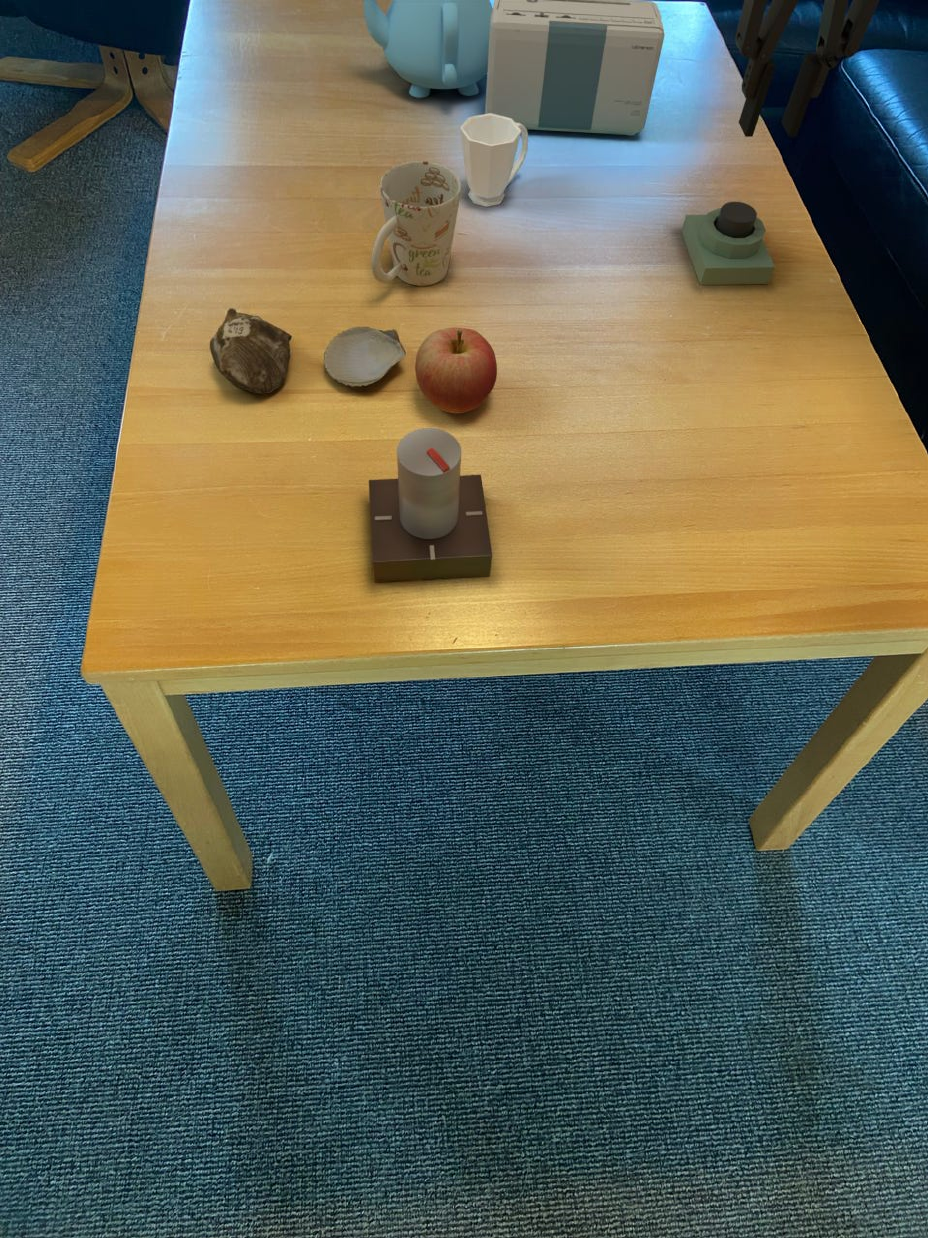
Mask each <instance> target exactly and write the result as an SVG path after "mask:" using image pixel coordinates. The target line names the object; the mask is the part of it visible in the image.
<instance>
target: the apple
mask: <svg viewBox="0 0 928 1238" xmlns="http://www.w3.org/2000/svg"><path fill="white" fill-rule="evenodd" d="M414 371H415V377H416V382H417V384H418V387H419V390H420V391H421V393H422V395H423V396H424V398H426V399H427V400H428V402H429V403H431V405H433V406H434V407H435V408H437V409H438V410H440V411H443V412H447V413H451V414H463V413H468V412H470V411H474V410H475V409H477V408H478V407H479V406H481V405H482V404H483V403H484V401H485V400H486V399H487V398H488V397H489V395H490V394H491V393H492V391H493V390H494V387H495V385H496V382H497V378H498V377H497V376H498V364H497V358H496V354H495V351H494V348H493V346H492V345H491V344H490V343H489V341H488V340H487V338H485V337H484V336H483V335H482V334H481V333H479V332H478V330H477V331H476V330H474V329H471V328H466V327H465V328H464V327H456V326H455V327H448V328H447V327H446V328H442V329H437V330H436V331H434V332H432V333H431V334H429V335H428V336H427V337H426V338H425V339H424V340H423V341H422V343H421V344H420V346H419V348H418V351H417V353H416V357H415V362H414Z"/></svg>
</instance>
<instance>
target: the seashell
mask: <svg viewBox="0 0 928 1238" xmlns="http://www.w3.org/2000/svg"><path fill="white" fill-rule="evenodd" d="M406 355H407V351H406V350H405V348H404V346H403V344H402V342H401V340H400V336H399V333H398V331H397V329H395V328H393V329H387V330H381V329H378V328H377V329H376V328H372V327H370V326H354V327H350V328H348V329H345V330H342V331H341V332H340V333H338V334H337V335H336V336H334V337H333V339H332V340H330V342H329V344H328V345H327V346H326V349H325V350H324V352H323V367H324V368H325V372H327V375H328V377H330V378H331V379H332V380H333V381H336V382H337V383H338V384H343V385H344V386H347V387H348V386H350V387H351V388H355V387H358V388H359V387H360V388H361V387H363V386H364V387H365V386H369V385H373V384H375V383H376V382H378V381H380V380H381V379H383V377H384V376H386V375H387V374H388V372H389V371H390V370H391V369H392V367H393V366H395V365H396V364H397V363H399V362H400V361H401V360H403V359H404V358H405V357H406Z"/></svg>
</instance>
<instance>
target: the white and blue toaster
mask: <svg viewBox="0 0 928 1238" xmlns="http://www.w3.org/2000/svg"><path fill="white" fill-rule="evenodd" d="M492 8H493V10H492V15H491V20H490V38H489V55H488V73H487V74H486V90H485V91H486V92H485V93H486V94H485V108H484V109H485V110H484V114H488V113H492V114H496V115H500V116H503V117H507V118H511V119H513V121H514V122H515V123H520V124H522V125H524V126H525V128H526V130H536V131H551V132H552V131H553V132H573V133H588V134H605V135H608V134H609V135H621V136H623V135H626V136H628V137H631V136H636V134H637V133H642V132H643V130H644V129H645V126H646V121H647V117H648V113H649V108H650V103H651V99H652V94H653V90H654V85H655V81H656V76H657V72H658V68H659V62H660V59H661V54H662V49H663V44H664V40H665V29H664V25H663V21H662V14H661V12H660V10H659V6H658V4H657V3H656V2H654V1H652V0H494V2H493V5H492Z"/></svg>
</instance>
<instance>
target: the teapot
mask: <svg viewBox="0 0 928 1238" xmlns="http://www.w3.org/2000/svg"><path fill="white" fill-rule="evenodd" d="M362 2H363V13H364V20H365V24H366V28H367V31H368V33H369V35H370V36H371V38H372V40H374V42H375V43H376V44H377V45H379V47H381V49H382V51H383V54H384V57H385V59H386V60H387V62H388V63H389V66H391V67H392V69H393V70H394V71H395V72H396V73H397V74H398V76H400V77H401V78H402V79H403V80H405V81H407V82H409V83H410V84H411V86H410V88H409V91H408V93H409V95H410V96H412V97H414V98H419V99H420V98H426V97H428V96H429V95H430V94H431V89H434V90H452V89H453V90H454V89H457V90H458V92H459V93H460V94H461V95H463V96H469V97H470V96H475V95H478V93H479V92H480V90H479V88H478V85H477V82H480V81H481V80H482V79H483V78H484V77H485V76H487V73H488V55H489V38H490V20H491V15H492V10H493V5H492V3H491V0H391V1H390V4H389V6H388V8H387V11H386V14H385V13H384V12H383V11H382V9H381V8H380V5H379V4H378V0H362Z"/></svg>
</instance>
